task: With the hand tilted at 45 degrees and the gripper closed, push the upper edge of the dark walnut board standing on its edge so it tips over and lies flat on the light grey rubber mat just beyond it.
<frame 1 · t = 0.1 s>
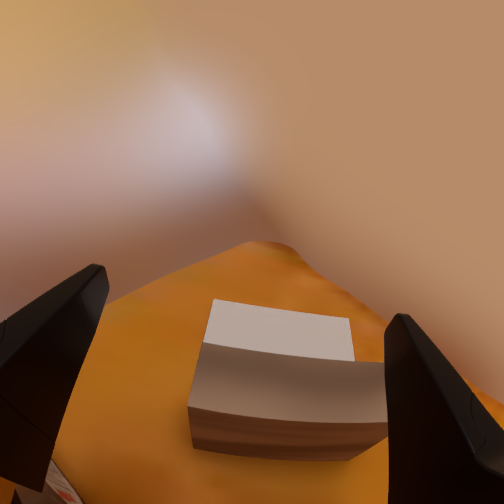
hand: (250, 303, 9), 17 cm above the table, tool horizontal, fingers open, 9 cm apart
tin: (37, 453, 14), on the table
walnut board: (275, 436, 20), on the table
mat: (280, 354, 26), on the table
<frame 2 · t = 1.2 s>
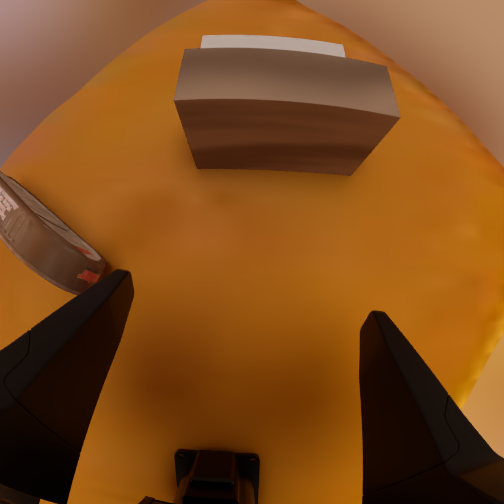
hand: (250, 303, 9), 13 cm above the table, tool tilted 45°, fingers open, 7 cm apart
tin: (58, 231, 22), on the table
walnut board: (275, 147, 23), on the table
mat: (274, 73, 24), on the table
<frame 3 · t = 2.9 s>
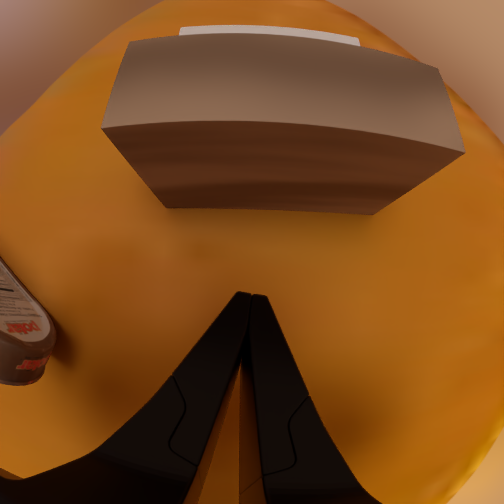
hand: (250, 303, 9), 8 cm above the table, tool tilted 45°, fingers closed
tin: (9, 283, 16), on the table
walnut board: (272, 177, 17), on the table
mat: (271, 73, 18), on the table
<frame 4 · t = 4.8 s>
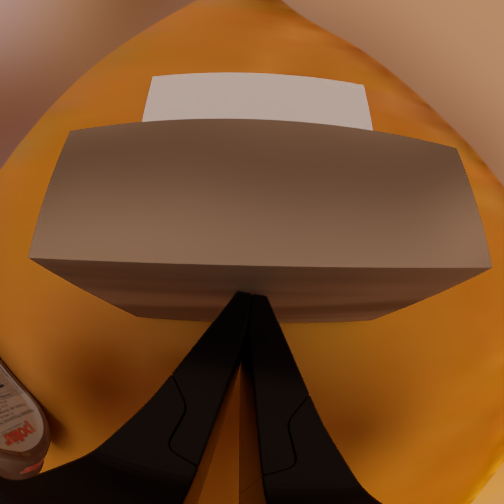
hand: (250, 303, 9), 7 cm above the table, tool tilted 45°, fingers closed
walnut board: (256, 282, 15), on the table, tilted 12°
mat: (258, 142, 17), on the table
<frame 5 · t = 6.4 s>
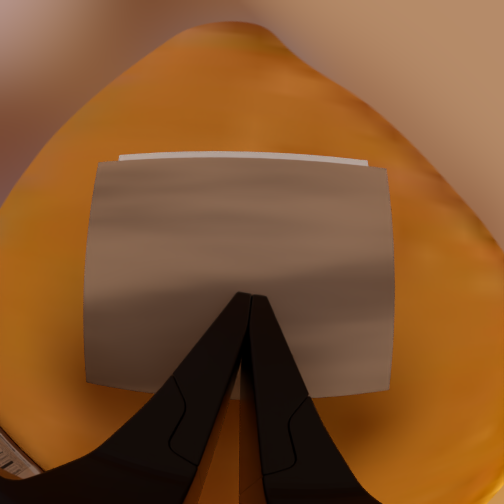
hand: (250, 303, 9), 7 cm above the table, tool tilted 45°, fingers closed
tin: (5, 437, 13), on the table
walnut board: (236, 383, 12), point 3 cm above the table, tilted 90°, touching mat
mat: (240, 246, 15), on the table
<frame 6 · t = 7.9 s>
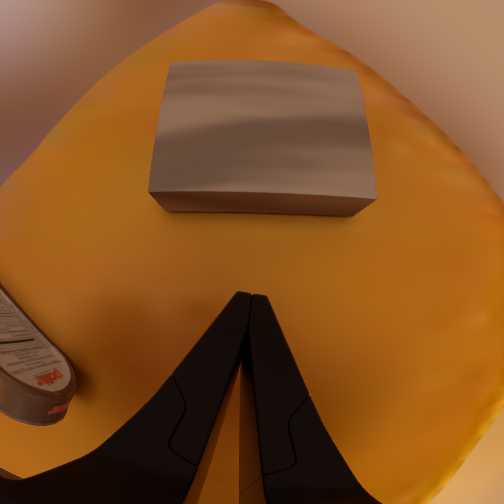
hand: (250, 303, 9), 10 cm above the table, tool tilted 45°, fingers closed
tin: (27, 327, 18), on the table
walnut board: (262, 203, 17), point 3 cm above the table, tilted 90°, touching mat
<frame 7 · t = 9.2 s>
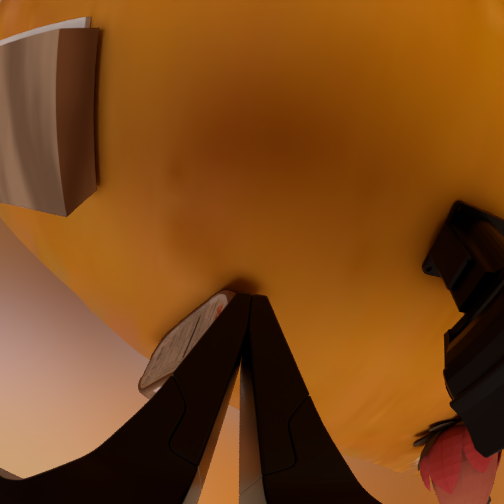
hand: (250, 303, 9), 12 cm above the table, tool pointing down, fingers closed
tin: (200, 316, 28), on the table
walnut board: (76, 119, 15), point 3 cm above the table, tilted 90°, touching mat
mat: (38, 111, 17), on the table
decorative flower: (460, 424, 42), on the table
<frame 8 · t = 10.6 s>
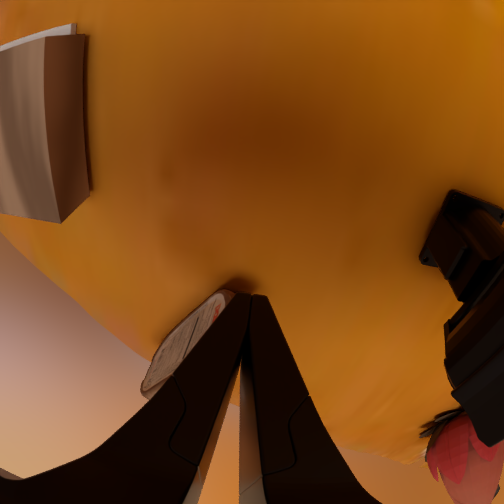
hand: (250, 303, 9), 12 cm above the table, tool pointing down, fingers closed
tin: (199, 316, 28), on the table
walnut board: (66, 126, 15), point 3 cm above the table, tilted 90°, touching mat
mat: (28, 119, 17), on the table
decorative flower: (465, 413, 42), on the table
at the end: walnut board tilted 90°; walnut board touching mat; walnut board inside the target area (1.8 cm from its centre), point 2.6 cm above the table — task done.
